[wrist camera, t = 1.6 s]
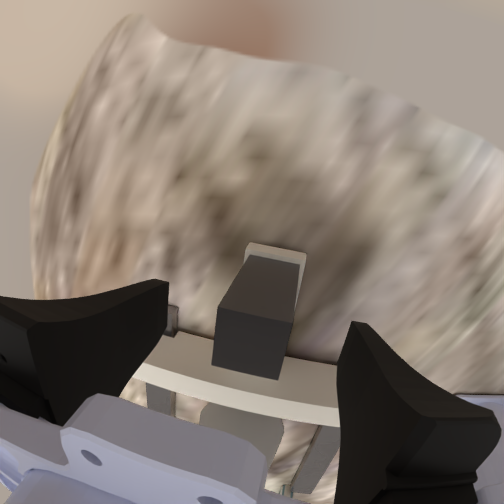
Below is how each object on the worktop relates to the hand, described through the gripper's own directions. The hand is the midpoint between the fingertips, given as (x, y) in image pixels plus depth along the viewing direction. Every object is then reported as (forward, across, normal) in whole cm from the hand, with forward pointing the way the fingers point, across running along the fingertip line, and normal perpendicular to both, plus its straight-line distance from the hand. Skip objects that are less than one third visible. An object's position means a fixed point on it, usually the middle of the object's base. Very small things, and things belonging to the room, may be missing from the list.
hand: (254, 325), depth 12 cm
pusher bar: (+6, 0, +3) cm, 7 cm away
